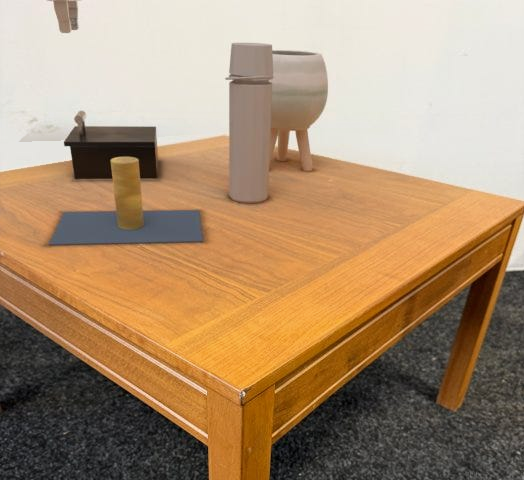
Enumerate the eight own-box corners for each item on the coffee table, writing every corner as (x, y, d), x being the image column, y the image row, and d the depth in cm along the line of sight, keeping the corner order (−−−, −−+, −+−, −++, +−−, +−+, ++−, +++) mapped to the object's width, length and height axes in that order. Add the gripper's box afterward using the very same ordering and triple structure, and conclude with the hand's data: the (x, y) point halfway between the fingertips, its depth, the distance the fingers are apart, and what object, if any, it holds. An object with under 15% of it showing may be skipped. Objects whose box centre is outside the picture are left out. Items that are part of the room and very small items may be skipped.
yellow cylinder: (116, 230, 84) (109, 163, 78) (118, 221, 87) (111, 156, 82) (143, 229, 84) (137, 163, 79) (144, 220, 88) (139, 156, 82)
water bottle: (277, 201, 100) (285, 45, 87) (243, 208, 96) (245, 46, 83) (247, 188, 106) (250, 41, 93) (213, 195, 102) (211, 41, 89)
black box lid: (64, 146, 102) (60, 120, 99) (75, 130, 114) (71, 106, 112) (154, 146, 104) (153, 120, 102) (156, 130, 116) (154, 107, 114)
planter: (277, 155, 130) (282, 47, 118) (334, 168, 122) (346, 54, 109) (232, 167, 119) (232, 50, 107) (291, 183, 111) (299, 58, 99)
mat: (49, 247, 79) (48, 244, 78) (64, 215, 90) (64, 211, 90) (203, 244, 82) (203, 240, 81) (198, 213, 93) (198, 209, 93)
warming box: (75, 183, 106) (69, 146, 102) (84, 163, 118) (80, 130, 114) (157, 182, 108) (155, 146, 104) (158, 163, 120) (156, 130, 116)
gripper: (48, -61, 99) (61, 27, 107) (23, -72, 82) (40, 34, 90) (84, -59, 100) (94, 28, 108) (67, -70, 83) (80, 35, 91)
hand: (70, 31), depth 99 cm, fingers open, 8 cm apart
